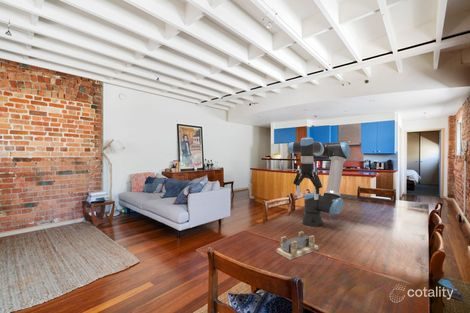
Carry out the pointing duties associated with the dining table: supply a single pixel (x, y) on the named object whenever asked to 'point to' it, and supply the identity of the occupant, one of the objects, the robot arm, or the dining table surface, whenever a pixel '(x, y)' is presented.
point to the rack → (294, 251)
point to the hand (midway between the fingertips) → (307, 197)
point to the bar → (301, 243)
